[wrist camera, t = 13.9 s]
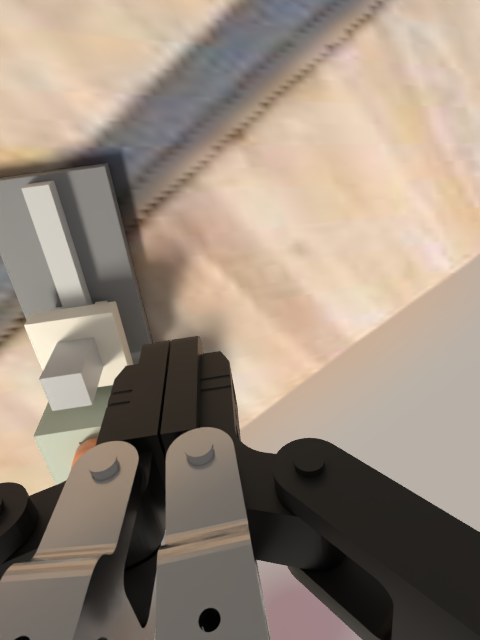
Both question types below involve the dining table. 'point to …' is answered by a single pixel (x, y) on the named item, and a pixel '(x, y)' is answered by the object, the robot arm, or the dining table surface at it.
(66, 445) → the end cabinet
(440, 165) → the dining table surface
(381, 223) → the dining table surface
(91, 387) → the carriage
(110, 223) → the rail board
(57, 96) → the dining table surface
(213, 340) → the dining table surface
